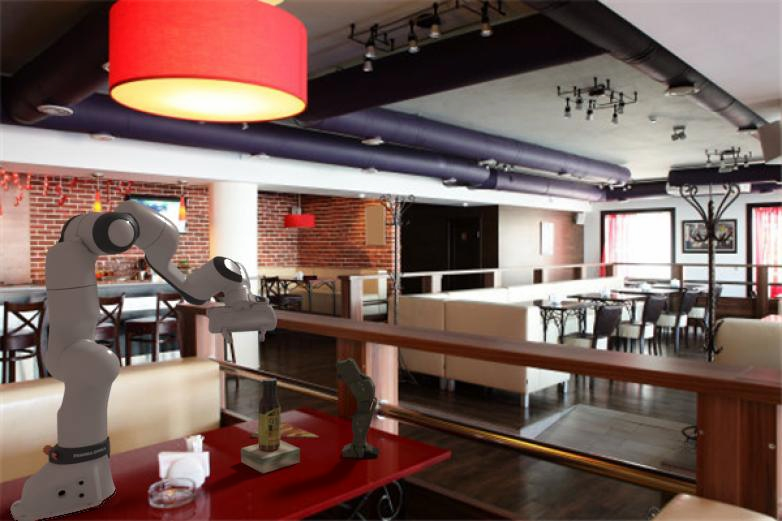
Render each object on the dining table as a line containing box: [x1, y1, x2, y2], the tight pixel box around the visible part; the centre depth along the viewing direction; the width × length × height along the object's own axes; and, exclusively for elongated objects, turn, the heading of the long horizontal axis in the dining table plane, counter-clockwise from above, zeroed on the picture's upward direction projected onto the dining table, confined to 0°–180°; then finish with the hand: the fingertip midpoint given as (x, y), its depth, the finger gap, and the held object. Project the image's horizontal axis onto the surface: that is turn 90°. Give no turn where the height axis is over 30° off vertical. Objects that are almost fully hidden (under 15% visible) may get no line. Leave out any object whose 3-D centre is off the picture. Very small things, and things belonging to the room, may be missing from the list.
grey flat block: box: [240, 439, 301, 474], centre depth 167 cm, size 12×12×4 cm
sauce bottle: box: [257, 377, 282, 451], centre depth 167 cm, size 6×6×20 cm
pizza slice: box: [251, 418, 320, 439], centre depth 192 cm, size 16×22×2 cm
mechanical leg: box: [335, 357, 381, 459], centre depth 173 cm, size 14×7×30 cm, turn 84°
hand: (246, 341), depth 172 cm, fingers open, 8 cm apart
